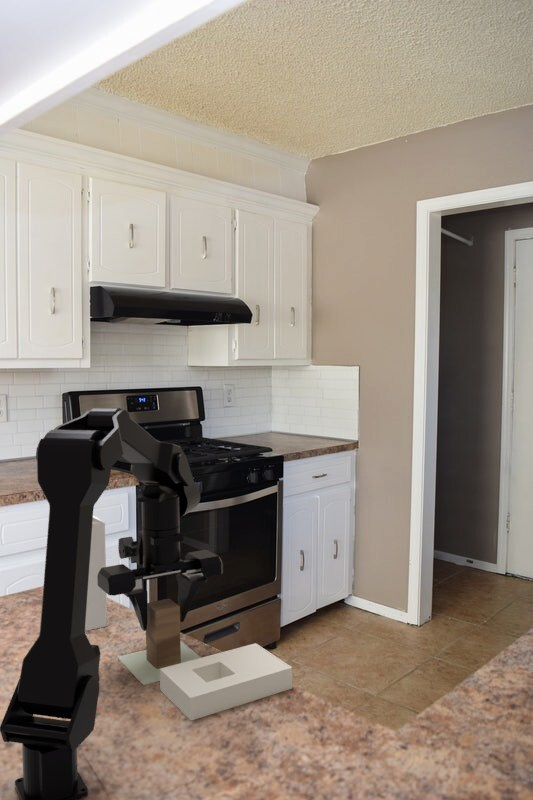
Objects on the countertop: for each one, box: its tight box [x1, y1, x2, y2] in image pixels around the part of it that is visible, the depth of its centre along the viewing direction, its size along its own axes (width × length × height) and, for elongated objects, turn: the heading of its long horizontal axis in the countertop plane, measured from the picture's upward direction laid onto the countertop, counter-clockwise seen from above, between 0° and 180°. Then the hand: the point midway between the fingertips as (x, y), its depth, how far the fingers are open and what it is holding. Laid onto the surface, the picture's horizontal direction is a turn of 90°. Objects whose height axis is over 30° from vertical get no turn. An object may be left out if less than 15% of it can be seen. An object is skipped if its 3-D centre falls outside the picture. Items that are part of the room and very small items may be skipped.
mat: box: [117, 640, 202, 686], centre depth 106 cm, size 11×11×1 cm
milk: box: [85, 514, 108, 632], centre depth 122 cm, size 6×6×22 cm
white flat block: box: [159, 642, 293, 721], centre depth 97 cm, size 10×16×4 cm, turn 122°
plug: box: [145, 598, 181, 669], centre depth 106 cm, size 4×4×9 cm
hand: (162, 625), depth 105 cm, fingers open, 6 cm apart
